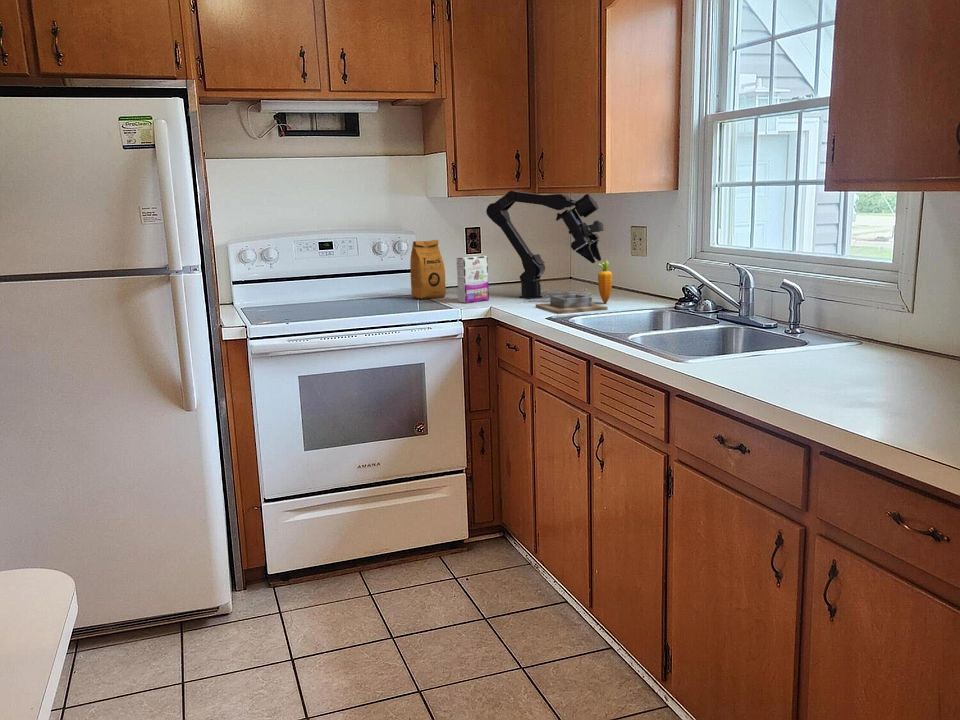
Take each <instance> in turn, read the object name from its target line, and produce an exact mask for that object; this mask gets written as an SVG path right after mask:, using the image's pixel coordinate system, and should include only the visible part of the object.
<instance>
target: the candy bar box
mask: <svg viewBox="0 0 960 720" xmlns="http://www.w3.org/2000/svg"><path fill="white" fill-rule="evenodd" d="M455 259H456V275H457V276H456V277H457V278H456V279H457V296H458V297H457V299H458V303H460V304H471V303H479V302H484V301H485V302H486V301H489V300H490V293H489V291H490V290H489V286H490V285H489V266H488V256H487V255H472V256H464V257H463V256H462V257H456V258H455Z"/></svg>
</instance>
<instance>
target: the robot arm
mask: <svg viewBox="0 0 960 720" xmlns="http://www.w3.org/2000/svg"><path fill="white" fill-rule="evenodd" d="M515 203H523V204H530V205H531V204H532V205H538V206H540V205H541V206H544V207H547V208H549V209H552V210H555V211H562V212H557V213H556V217H555V221H557V222H558V221H560V220H562V221H563V223H564V225H565V226H566V228H567V229H568V234H569V235H571V236H572V238H573V240H574V241H572V242H571V245H570V248H571V249H572V250H573V251H574V252H575V253H577V254H578V255H579V256H581V257H583V258H584V259H585V260H587V261H589V262H590V263H591V264H595V263H596V260H597V261H598V262H601V261H602V256H601V253H600V250H599V247H598V245H599V242H600V236H599V235H598V233H601V232H603V231H605V230H604V223H603V222H601V221H600V220H594V221H593V223H592V224H589V225H588V224H587V223H586V222H583V221H582V217H583V218H584V219H585V218H588V217H590V215H592V214H593V213H595V212H596V211H598V210H599V208H600V207H599V205H598V203H597V201H596V200H594V198H593V197H592V196H591V194H589V193H586V194H584V195H583V196H582V197H581V198H579V199H578V200H574V199H571V198H570V196H569V194H566V193H555V194H554V193H553V194H552V193H551V194H541V193H540V194H539V193H533V192H524V191H517V190H509V191H508V192H507V193H506V194H504V195H503V196H502V197H500V198H499V199H497V200H496V201H495V202H493V203H490V204H488V205H487V207H486V211H485V212H486V215H487V217H488V218H489V219H490V220H491V221H492V222H493V223H494V224H496V225H497V226H498V227H499V228H500V229H501V230H502V231H501V232H503V234H504V235H505V236H506V238H507V240H508V242H509V243H510V244H511V246H512V247H513V249H514V250H515V252H516V253H517V255H518V256H519V258H520V260H521V264H522V267H523V269H524V271H523V272H522V273H521V274H520V275H519V280H520V282H521V284H520V285H521V295H519V298H524V299H537V298H543V295H541V293H542V290H541V287H542V285H541V283H540V280H541V277H542V276H543V275H544V273H545V272H546V265H545V261H544V260H543V259H542V257H541V255H540V254H539V253H537V254H534V253H533V252H532V251H531V249H530V248H529V246H528V245H527V244H526V242H525V240H524V239H523V238H522V236H521V234H520V232H518V231H517V228H516V227H515V225H514V224H513V223H512V221H511V217H510V213H509V210H510V209H511V208H512V206H514V205H515ZM568 208H572V209H570V210H569V209H568ZM563 210H564V211H563Z"/></svg>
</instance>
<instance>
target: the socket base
mask: <svg viewBox="0 0 960 720" xmlns="http://www.w3.org/2000/svg"><path fill="white" fill-rule="evenodd" d="M549 299H550V300H549V301H550V302H548V303H547V302H546V303H536V304H535V308H537V309H541V310H544V311H548V312H551V313H554V314H558V315H562V314H574V313H585V312H586V313H587V312H596V311H597V312H598V311H607V310H608V306H606V305H601V304H598V303H595V302H593V297H592V296H588V295H583V294H580V293H573V294H572V293H571V294H560V295H550V296H549Z"/></svg>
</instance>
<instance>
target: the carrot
mask: <svg viewBox="0 0 960 720" xmlns="http://www.w3.org/2000/svg"><path fill="white" fill-rule="evenodd" d="M597 265H598V266H599V267H600V268H601V269H602V271H599V272H598V274H597V282H598V283H597V284H598V291H599V296H600V298H601V301H602V302H603V303H604V304H607V303H608V301H609V299H610V296H611V295H612V288H613V277H614V276H613V273H612V272H611V271H609V270H608V268H609V266H610V262H609V261H608V260H604V262H601V263H598V264H597Z"/></svg>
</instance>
